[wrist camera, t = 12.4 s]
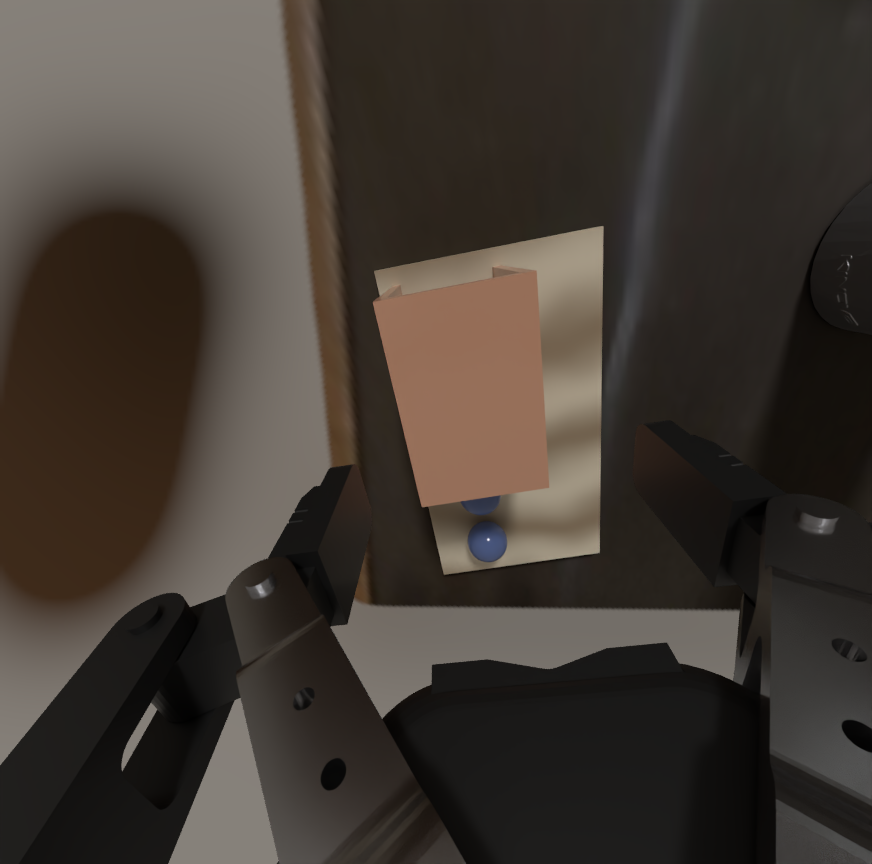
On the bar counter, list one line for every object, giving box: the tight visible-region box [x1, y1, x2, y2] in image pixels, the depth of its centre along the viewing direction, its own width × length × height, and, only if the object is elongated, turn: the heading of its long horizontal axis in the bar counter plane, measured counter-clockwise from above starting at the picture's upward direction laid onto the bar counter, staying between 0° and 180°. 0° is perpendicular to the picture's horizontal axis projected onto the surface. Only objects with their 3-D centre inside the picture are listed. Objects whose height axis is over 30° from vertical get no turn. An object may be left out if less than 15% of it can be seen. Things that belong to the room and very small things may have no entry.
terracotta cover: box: [373, 265, 549, 507], centre depth 20 cm, size 10×6×8 cm, turn 10°
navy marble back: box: [467, 521, 507, 562], centre depth 28 cm, size 3×3×3 cm
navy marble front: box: [460, 495, 501, 515], centre depth 26 cm, size 3×3×3 cm
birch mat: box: [374, 226, 603, 575], centre depth 27 cm, size 24×13×1 cm, turn 10°
